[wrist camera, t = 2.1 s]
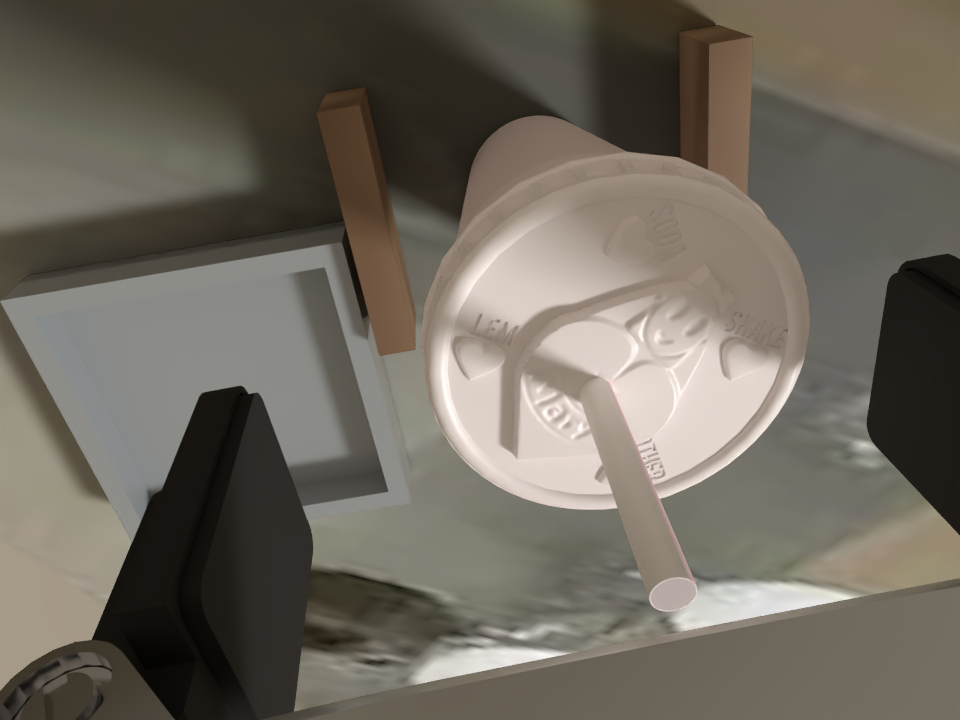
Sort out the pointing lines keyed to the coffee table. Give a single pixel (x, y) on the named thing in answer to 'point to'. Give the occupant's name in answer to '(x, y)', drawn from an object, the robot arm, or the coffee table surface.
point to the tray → (220, 363)
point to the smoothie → (609, 330)
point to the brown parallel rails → (365, 197)
